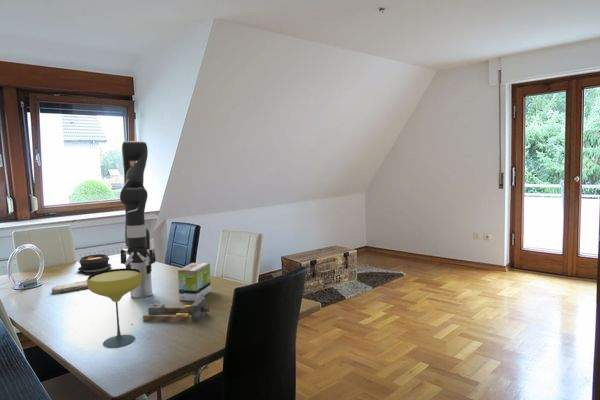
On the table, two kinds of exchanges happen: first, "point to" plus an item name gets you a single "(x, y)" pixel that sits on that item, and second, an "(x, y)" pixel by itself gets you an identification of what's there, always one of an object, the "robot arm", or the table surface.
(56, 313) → the table surface
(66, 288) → the elongated rock
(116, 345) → the cocktail glass
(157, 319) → the guide channel
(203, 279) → the tea box
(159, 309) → the dice cube
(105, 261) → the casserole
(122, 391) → the table surface
